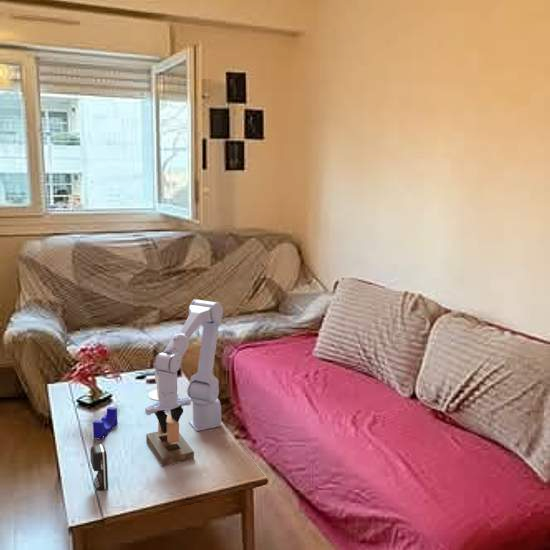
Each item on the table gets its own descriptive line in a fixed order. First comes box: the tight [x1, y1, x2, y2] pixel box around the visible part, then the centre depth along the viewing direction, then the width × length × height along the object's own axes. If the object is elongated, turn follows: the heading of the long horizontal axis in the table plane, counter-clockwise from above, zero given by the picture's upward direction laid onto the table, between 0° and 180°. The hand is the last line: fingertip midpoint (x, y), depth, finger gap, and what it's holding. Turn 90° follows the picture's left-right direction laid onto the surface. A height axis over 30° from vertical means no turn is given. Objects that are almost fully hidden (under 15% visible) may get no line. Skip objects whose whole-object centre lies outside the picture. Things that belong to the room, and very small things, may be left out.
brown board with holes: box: [145, 431, 195, 467], centre depth 189 cm, size 10×18×2 cm, turn 27°
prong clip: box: [157, 412, 180, 443], centre depth 188 cm, size 3×9×6 cm, turn 34°
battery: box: [89, 444, 109, 491], centre depth 168 cm, size 7×4×11 cm, turn 25°
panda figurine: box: [148, 368, 179, 402], centre depth 230 cm, size 12×11×15 cm
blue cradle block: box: [92, 406, 119, 440], centre depth 201 cm, size 12×4×6 cm, turn 171°
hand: (169, 430), depth 188 cm, fingers closed on prong clip, 3 cm apart
